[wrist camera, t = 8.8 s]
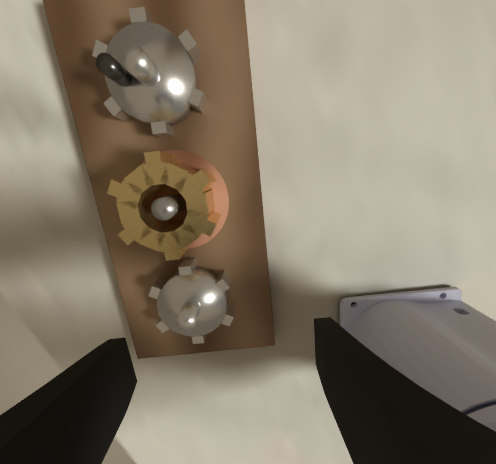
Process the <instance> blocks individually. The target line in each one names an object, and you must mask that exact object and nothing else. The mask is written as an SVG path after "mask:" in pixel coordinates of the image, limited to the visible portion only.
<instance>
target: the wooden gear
mask: <svg viewBox="0 0 496 464" xmlns="http://www.w3.org/2000/svg"><path fill="white" fill-rule="evenodd" d="M144 157H145V162H146V164H142V165H140V166H139V167H137V168H136V169H135V170H134V171H133V172H131V173H130V174H129V175H128V176H126V177H125V178H124V179H111V182H110V185H109V189H108V192H107V194H110V195H112V196H114V197H117V200H116V201H117V203H116V204H117V208H118V212H119V216H120V220H121V224H124V225H123V227H124V228H125V229H124V230H122V231H121V232H120V233H119V234H117V235H118V236H119V237H120V238H121V239H122V240H123V241H124V242H125V243H126V244H127V246H128V245H129V244H131V243H132V242H134V241H136V242H137V243H138V242H139V244H141V245H143V246H146V247H148V248H151V249H153V250H156V251H158V252H159V251H160V252H164V254H165V259H166V261H168V260H178V259H180V258H181V257H182V256H183V254H184V253H185V252H186V250H187V249H188V248H189V246H190V245H191V243H192V242H194V241H195V240H196V239H198V238H199V237H200V236H201V234H202V233H203V234H205V235H208V236H210V237H211V236H212V234H213V232H214V230H215V228H216V226H217V224H218V222H219V219H220V217H221V214H219V213H217V212H215V211H214V210H215V202H214V195H213V189H211V188H212V187H211V186H210V185H212V184H213V183H214V182H216V181H217V180H216V179H215V177H214V176H213V175H212V173H211V172H210V170H200V171H196V170H194V169H192V168H190V167H188V166H185V165H183V164H178V163H177V158H176V155H173V154H170V153H166V152H162V151H154V152H145V153H144ZM166 185H168V186H170V187H173V188H175V189H177V190H178V191H179V192H180V194H181V195H182V196H183V198H184V199H185V200H186V206H187V212H188V213H187V216H186V218H185V221H179V222H176V221H173V220H171V219H168V220H159V219H157V218H156V217H155V216H154V215H153V213H152V209H151V207H152V204H153V202H154V201H155V200H156V199H158V197H159V194H160V191H161V189H162V188H163V187H165V186H166Z"/></svg>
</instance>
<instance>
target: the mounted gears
mask: <svg viewBox="0 0 496 464" xmlns="http://www.w3.org/2000/svg"><path fill="white" fill-rule="evenodd" d="M129 13H130V18H131V23H132V24H130V25H127V26H125V27H124V28H122V29H121V30H120V31H118V32H117V33H116V34H115V35H114V37H113V38H112V40H111V41H110V43H109V45H106V44H104V43H102V42H100V41H98V40H96V42H95V46H94V50H93V54H92V56H93V57H94V58H96V66H97V69H98V70H99V71H100V72H101V73H102V74H104V75H105V80H106V84H107V87H108V89H109V92H110V93H111V95H112V96H111V97H110V98H109V99H107V100H106V101H105V102H104V103H103V104H104V105H105V106H106V108H107V109H108V110H109V111H110V113H111V114H112V115H113V116H114V117H116V118H119V119H121V120H123V121H126V122H127V121H129V120H130V119H131V118H132V117H134V118H136V119H138V120H140V121H142V122H144V123H146V124H149V125H151V128H152V133H153V135H156V136H158V137H161V138H167V137H174V131H173V125H176V124H178V123H180V122H181V121H183V120H184V119H185V118H186V117H187V116H188V115H189V114H190V113H191V111H192V110H193V109H194V110H196V111H198V112H201V113H203V112H204V109H205V106H206V103H207V101H208V100H207V98H206V96H205V94H204V92H202V91H200V90H198V87H199V86H198V77H197V73H196V70H195V67H194V65H193V64H195V63H196V62H197V61H198V60H200V59H201V58H202V56H201V54H200V51H199V48H198V46H197V43H196V42H195V40H194V39H193V37H192V36H191V34H190V33H189V31H188V30H187V29H186V30H185V31H184V32H183V33H182V34H181V35H179V36H178V38H179V39H178V38H177V37H176V36H175V35H174V34H173V33H172V32H171V31H170V30H168V29H166V28H165V27H163V26H161V25H158V24H155V23H154V22H153V20H152V19H151V17H150V15H149V14H148V12H147V10H146V9H145V7H139V8H130V9H129ZM192 62H193V63H192ZM186 208H187V206H186V200H185V199H184V198H183V196H182V195H181V194H180V193H175V194H172V195H168V196H165V197H162V198H159V199H156V200H155V201H154V202H153V204H152V207H151V209H152V213H153V215H154V216H155V217H156V218H157V219H159V220H168V219H170V218H172V217H173V216H175V215H176V214H178V213H180V212H181V211H183V210H185V209H186ZM178 269H179V270H178V271H176V272H175V273H174V274H173V275H172V276H171V277H170V278H169V279H165V278H163V277H159V278H158V279H157V281H156V282H155V283H154V284H153V286H152V287H151V290H150V293H149V295H148V296H149V297H152V298H155V299H157V298H158V299H157V310H158V313H159V316H160V318H159V319H158V321H157V323H156V324H155V326H156V327H157V328H158V329H159V330H160V331H161V332H162V333H164V332H165V331H167V330H168V329H169V328H170V329H171V330H172V331H174V332H176V333H178V334H181V335H184V336H192V342H193V344H199V343H204V341H205V337H206V334H208V333H210V332H212V331H214V330H215V329H216V328H217V327H218V326H219V325H220V324H221V323H222V324H224V325H227V326H230V324H231V322H232V320H233V318H234V310H235V305H233V304H230V303H227V301H228V292H227V289H229V288H230V284H231V277H230V276H229V275H228V273H227V272H226V271H225V270H223V271H222V272H221V273H219V274H218V275H217V274H216V273H215V272H213V271H212V270H210V269H207V268H204V267H200V266H196V260H195V258H189V259H184V260H183V261H182V263H181V264H180V266H179V267H178ZM167 280H168V281H167Z"/></svg>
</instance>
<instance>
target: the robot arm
mask: <svg viewBox="0 0 496 464" xmlns="http://www.w3.org/2000/svg"><path fill="white" fill-rule="evenodd" d="M441 294H442V295H441ZM440 295H441V296H440ZM461 296H462V291H461V290H460V289H458V288H456V287H445V288H435V289H425V290H415V291H405V292H395V293H385V294H376V295H366V296H356V297H346V298H343V299H341V301H340V303H339V310H340V325H339V324H338V323H337V322H335V321H334V320H333V319H332V318H331V317H328V318H318V319H314V330H315V356H316V366H317V370H318V373H319V377H320V380H321V383H322V386H323V390H324V393H325V396H326V398H327V400H328V403H329V405H330V408H331V410H332V413H333V415H334V418H335V420H336V422H337V425H338V427H339V430H340V432H341V434H342V437H343V439H344V442H345V444H346V447H347V449H348V451H349V454H350V456H351V459H352V461H353V463H354V464H496V321H494V320H493V319H491V318H489V317H488V316H486V315H484V314H483V313H481V312H479V311H478V310H476V309H474V308H473V307H471V306H469V305H467V304H466V303H464V302H462V301H461ZM352 302H355V303H354V304H353V305H351V303H352ZM136 383H137V379H136V375H135V371H134V368H133V364H132V361H131V357H130V353H129V350H128V346H127V342H126V339H125V338H117V339H109V340H108V341H106V342H104V343H103V344H101V345H100V346H98V347H97V348H95V349H94V350H92V351H91V352H90V353H88V354H87V355H85V356H84V357H83V358H81V359H80V360H78V361H77V362H76V363H74V364H73V365H72V366H70V367H69V368H67V369H66V370H65V371H63V372H62V373H60V374H59V375H58V376H56V377H55V378H54V379H52V380H51V381H50V382H48V383H47V384H45V385H44V386H42V387H41V388H40V389H38V390H37V391H35V392H34V393H32V394H31V395H29V396H28V397H26V398H25V399H24V400H22V401H21V402H19V403H18V404H16V405H15V406H14V407H12V408H10V409H9V410H7V411H6V412H5V413H3V414H2V415H0V464H101V463H102V461H103V459H104V457H105V455H106V453H107V451H108V449H109V447H110V445H111V443H112V441H113V439H114V437H115V435H116V433H117V430H118V428H119V426H120V424H121V422H122V420H123V418H124V416H125V414H126V411H127V409H128V406H129V403H130V401H131V398H132V395H133V392H134V389H135V386H136Z"/></svg>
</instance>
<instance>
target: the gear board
mask: <svg viewBox="0 0 496 464" xmlns="http://www.w3.org/2000/svg"><path fill="white" fill-rule="evenodd" d="M43 4H44V7H45V11H46V15H47V19H48V23H49V26H50V30H51V34H52V38H53V41H54V45H55V49H56V53H57V56H58V60H59V64H60V68H61V71H62V75H63V79H64V83H65V87H66V90H67V94H68V98H69V102H70V105H71V109H72V113H73V117H74V120H75V124H76V128H77V132H78V135H79V139H80V143H81V147H82V151H83V154H84V158H85V162H86V166H87V169H88V173H89V177H90V181H91V184H92V188H93V192H94V196H95V199H96V203H97V207H98V211H99V215H100V218H101V222H102V226H103V230H104V233H105V237H106V241H107V245H108V248H109V252H110V256H111V260H112V263H113V267H114V271H115V275H116V279H117V282H118V286H119V290H120V294H121V297H122V301H123V305H124V309H125V312H126V316H127V320H128V324H129V327H130V331H131V335H132V339H133V343H134V346H135V350H136V354H137V358H138V359H140V358H150V357H160V356H170V355H180V354H191V353H201V352H211V351H221V350H231V349H241V348H252V347H262V346H272V345H275V339H274V328H273V317H272V306H271V294H270V283H269V272H268V261H267V250H266V238H265V227H264V216H263V205H262V193H261V182H260V171H259V160H258V149H257V137H256V126H255V115H254V104H253V92H252V81H251V70H250V59H249V48H248V36H247V25H246V14H245V3H244V0H43ZM139 7H145V9H146V10H147V12H148V14H149V15H150V17H151V19H152V20H153V22H154V23H155V24H158V25H161V26H163V27H165V28H166V29H168V30H170V31H171V32H172V33H173V34H174V35H175V36H176V37H177V38H178V36H179V35H181V34H182V33H183V32H184V31H185V30H186V29H187V30H188V31H189V33H190V34H191V36H192V37H193V39H194V40H195V42H196V43H197V46H198V48H199V51H200V54H201V56H202V58H201V59H200V60H198V61H197V62H196V63H195V64H193V65H194V67H195V70H196V73H197V77H198V86H199V87H198V90H200V91H202V92H204V94H205V96H206V98H207V100H208V101H207V103H206V106H205V109H204V112H203V113H201V112H198V111H196V110H194V109H193V110H192V111H191V113H190V114H189V115H188V116H187V117H186V118H185V119H184V120H183V121H181V122H180V123H178V124H176V125H173V131H174V137H167V138H161V137H158V136H156V135H153V133H152V128H151V125H149V124H146V123H144V122H142V121H140V120H138V119H136V118H134V117H132V118H131V119H130V120H129V121H127V122H126V121H123V120H121V119H119V118H116V117H114V116H113V115H112V114H111V113H110V111H109V110H108V109H107V108H106V106H105V105H104V104H103V103H104V102H105V101H106V100H107V99H109V98H110V97H111V96H112V95H111V93H110V92H109V89H108V87H107V84H106V80H105V75H104V74H102V73H101V72H100V71H99V70H98V69H97V66H96V58H94V57H93V56H92V54H93V50H94V46H95V42H96V40H98V41H100V42H102V43H104V44H106V45H109V43H110V41H111V40H112V38H113V37H114V35H115V34H116V33H117V32H118V31H120V30H121V29H122V28H124V27H125V26H127V25H130V24H132V23H131V18H130V13H129V9H130V8H139ZM178 39H179V38H178ZM192 63H193V62H192ZM154 151H162V152H166V153H170V154H173V155H176V158H177V163H178V164H183V165H185V166H188V167H190V168H192V169H194V170H196V171H200V170H210V172H211V173H212V175H213V176H214V177H215V179H216V180H217V181H216V182H214V183H213V184H212V185H210V186H211V187H212V188H211V189H213V195H214V202H215V210H214V211H215V212H217V213H219V214H221V217H220V219H219V222H218V224H217V226H216V228H215V230H214V232H213V234H212V236H211V237H210V236H208V235H205V234H203V233H202V234H201V236H200V237H199V238H198V239H196V240H195V241H194V242H192V243H191V245H190V246H189V248H188V249H187V250H186V252H185V253H184V254H183V256H182V257H181V258H180V259H178V260H168V261H166V259H165V254H164V252H160V251H159V252H158V251H156V250H153V249H151V248H148V247H146V246H143V245H141V244H139V242H138V243H137V242H136V241H134V242H132V243H131V244H129V245H128V246H127V244H126V243H125V242H124V241H123V240H122V239H121V238H120V237H119V236H118V235H117V234H119V233H120V232H121V231H122V230H124V229H125V228H124V227H123V225H124V224H121V220H120V216H119V212H118V208H117V204H116V203H117V201H116V200H117V197H114V196H112V195H110V194H107V192H108V189H109V185H110V182H111V179H124V178H125V177H126V176H128V175H129V174H130V173H131V172H133V171H134V170H135V169H136V168H137V167H139V166H140V165H142V164H146V162H145V157H144V153H145V152H154ZM175 193H180V192H179V191H178V190H177V189H175V188H173V187H170V186H168V185H166V186H165V187H163V188H162V189H161V191H160V194H159V197H158V199H159V198H162V197H165V196H168V195H172V194H175ZM187 213H188V212H187V208H186V209H185V210H183V211H181V212H180V213H178V214H176V215H175V216H173V217H172V218H170V219H171V220H173V221H176V222H179V221H185V218H186V216H187ZM189 258H195V260H196V266H200V267H204V268H207V269H210V270H212V271H213V272H215V273H216V274H217V275H218V274H219V273H221V272H222V271H223V270H225V271H226V272H227V273H228V275H229V276H230V277H231V284H230V288H229V289H227V292H228V301H227V303H230V304H233V305H235V310H234V318H233V320H232V322H231V324H230V326H227V325H224V324H222V323H221V324H220V325H219V326H218V327H217V328H216V329H215V330H214V331H212V332H210V333H208V334H206V337H205V341H204V343H199V344H193V342H192V336H184V335H181V334H178V333H176V332H174V331H172V330H171V329H170V328H169V329H168V330H167V331H165V332H164V333H162V332H161V331H160V330H159V329H158V328H157V327H156V326H155V324H156V323H157V321H158V319H159V318H160V316H159V313H158V310H157V299H158V298H157V299H155V298H152V297H149V296H148V295H149V293H150V290H151V287H152V286H153V284H154V283H155V282H156V281H157V279H158V278H159V277H163V278H165V279H169V278H170V277H171V276H172V275H173V274H174V273H175V272H176V271H178V270H179V269H178V267H179V266H180V264H181V263H182V261H183V260H184V259H189ZM167 281H168V280H167Z"/></svg>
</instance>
